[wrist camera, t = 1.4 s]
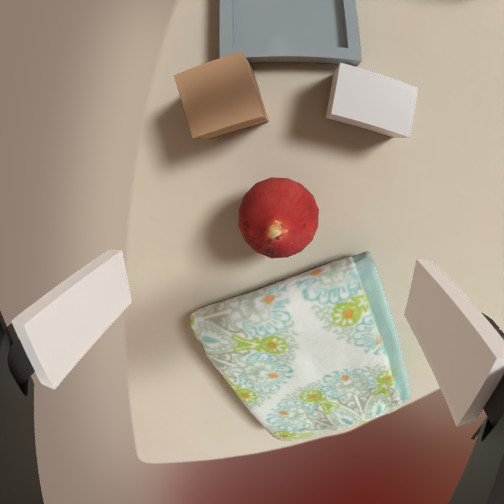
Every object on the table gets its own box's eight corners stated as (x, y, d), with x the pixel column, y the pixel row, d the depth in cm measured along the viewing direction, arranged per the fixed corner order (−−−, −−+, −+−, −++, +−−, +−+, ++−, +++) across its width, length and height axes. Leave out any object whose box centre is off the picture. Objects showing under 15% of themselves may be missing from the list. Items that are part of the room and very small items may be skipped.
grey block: (333, 74, 20) (340, 62, 16) (400, 94, 20) (418, 88, 16) (325, 118, 22) (331, 113, 18) (392, 137, 21) (409, 137, 18)
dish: (224, -31, 17) (220, -39, 15) (345, -31, 15) (347, -41, 14) (224, 64, 21) (219, 59, 19) (357, 65, 19) (361, 60, 18)
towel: (276, 422, 36) (272, 451, 31) (194, 303, 30) (177, 332, 25) (405, 384, 31) (414, 414, 26) (365, 236, 25) (379, 258, 20)
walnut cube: (196, 86, 22) (173, 75, 17) (252, 67, 21) (241, 51, 16) (212, 138, 23) (192, 138, 19) (268, 121, 22) (262, 116, 18)
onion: (298, 249, 26) (298, 293, 18) (237, 224, 26) (214, 259, 18) (325, 189, 24) (339, 211, 16) (261, 162, 24) (246, 171, 16)
